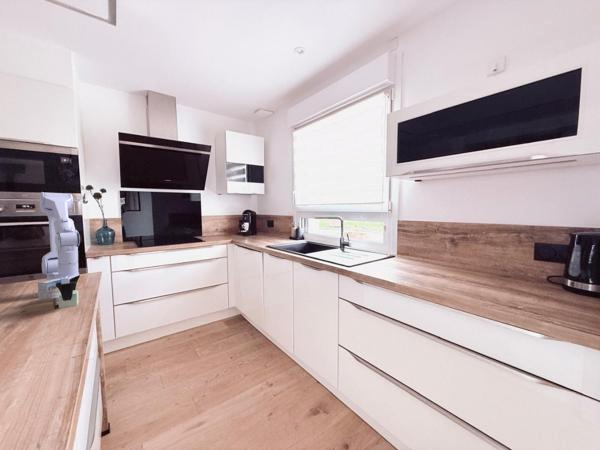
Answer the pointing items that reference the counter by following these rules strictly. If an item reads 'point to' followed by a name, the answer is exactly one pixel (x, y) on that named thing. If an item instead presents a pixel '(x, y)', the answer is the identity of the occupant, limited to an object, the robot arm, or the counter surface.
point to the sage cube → (71, 302)
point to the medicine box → (48, 289)
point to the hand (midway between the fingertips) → (69, 297)
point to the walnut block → (40, 305)
